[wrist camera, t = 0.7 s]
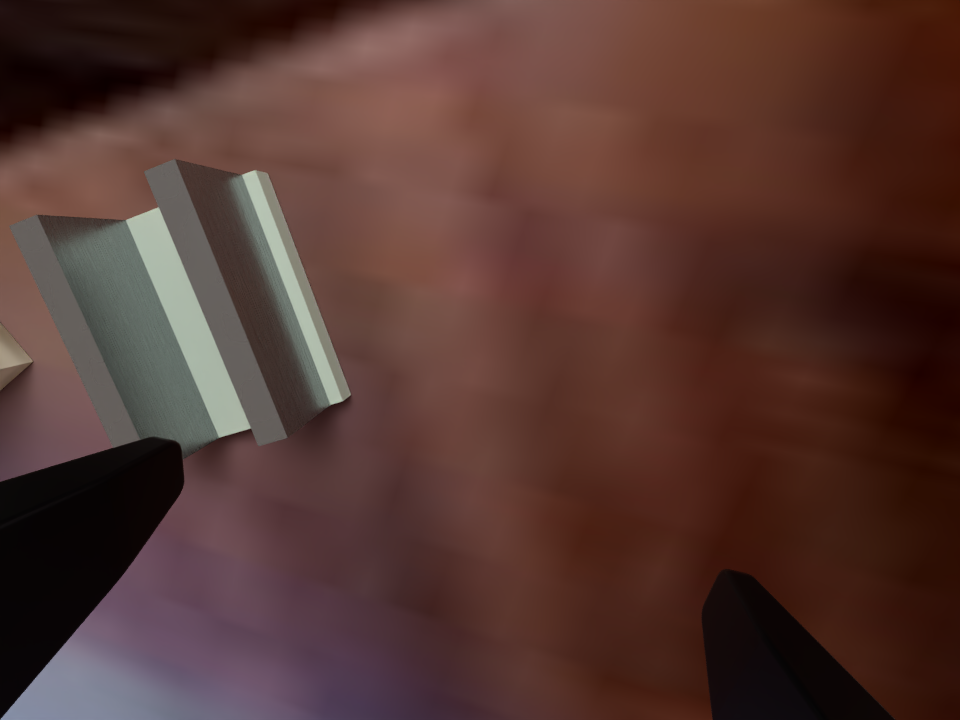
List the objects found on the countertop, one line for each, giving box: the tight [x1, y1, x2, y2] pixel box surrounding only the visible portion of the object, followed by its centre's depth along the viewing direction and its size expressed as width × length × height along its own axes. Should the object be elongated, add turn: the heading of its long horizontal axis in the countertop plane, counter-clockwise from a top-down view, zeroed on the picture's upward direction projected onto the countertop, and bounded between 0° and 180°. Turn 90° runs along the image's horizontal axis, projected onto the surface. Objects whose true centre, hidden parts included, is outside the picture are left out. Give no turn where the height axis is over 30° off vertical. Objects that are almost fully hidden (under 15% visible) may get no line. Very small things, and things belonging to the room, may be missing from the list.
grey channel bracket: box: [9, 159, 351, 459], centre depth 21 cm, size 10×8×5 cm
